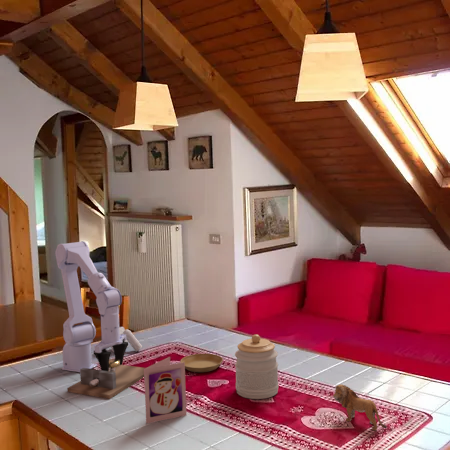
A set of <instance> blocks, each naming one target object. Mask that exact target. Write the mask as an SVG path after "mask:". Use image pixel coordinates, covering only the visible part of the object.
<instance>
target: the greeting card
mask: <svg viewBox="0 0 450 450" xmlns="http://www.w3.org/2000/svg"><path fill="white" fill-rule="evenodd" d="M144 368H145V369H144V378H143V380H144V399H145V404H144V405H145V420H146V421H145V422H146V423H145V424H150V423H151V424H152V423H154V422H155V423H157V422H160V421H165V420H169V419H175V418H180V417H184V416H187V392H186V390H187V388H186V368H185V362H183V363H180V362H179V363H171V356H168V357H167V358H164V359H162V360H160V361H158V362H156V363H153V364H151V365H149V366H148V367H144Z"/></svg>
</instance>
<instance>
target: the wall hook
mask: <svg viewBox="0 0 450 450" xmlns="http://www.w3.org/2000/svg"><path fill="white" fill-rule="evenodd" d="M119 330H120V335H121V334H125V335H126V338H127V340H126V341H124V342H128V344H129V345H131V347H132V349H133V350H134V351H135V352H138V351H139V350H141V348H143V345H142V344H141V343H140V341H139V340H138V339H137V338H136V336H135V335H134V334H133V333H132V331H131V330H129V329H127V328H126V329H125V327H124V326H119ZM129 345H128V346H127V348H129ZM110 349H111V352H112V353H113V354H114V350H113V347H112V346H111V347H110Z"/></svg>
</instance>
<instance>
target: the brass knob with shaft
mask: <svg viewBox="0 0 450 450" xmlns="http://www.w3.org/2000/svg"><path fill="white" fill-rule="evenodd" d="M119 365H120V360H118V359H115V358H110V359H109V371H110V372H116V370H115V367H117V366H119ZM99 383H100V380H99V378H96V379H94V380H92V381H91V382H90V386H91V387H94V386H96V385H97V384H99Z"/></svg>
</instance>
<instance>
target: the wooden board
mask: <svg viewBox="0 0 450 450" xmlns="http://www.w3.org/2000/svg"><path fill="white" fill-rule="evenodd" d="M145 368H146V367H140V366H134V365H133V366H132V365H126V364H122V365H119V366H117V367H115V370H116V372H110V371H103V370H101V369H96V368H92V369H89V368H82V369H80V372H79V374H80V380H79V381H78V382H76V383H75V384H72V385H71V386H69V387H67V388H66V389H67V393H73V394H79V395H85V396H90V397H95V398H101V399H109V400H111V399H113V398H115V396H117V395H119V394H120V393H122V392H124V391H125V390H127V389H128V387H129V388H130V387H132V386H134V385H135V384H137V383H138V382H140V381H141V380H140V379H142V378H143V377H144V369H145ZM96 378H99V380H100V383H99V384H97V385H96V386H94V387H91V386H90V382H91V381H92V380H94V379H96ZM143 379H144V378H143ZM143 379H142V380H143ZM139 380H140V381H139ZM137 381H138V382H137ZM136 382H137V383H136ZM134 383H135V384H134ZM131 385H132V386H131Z"/></svg>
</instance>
